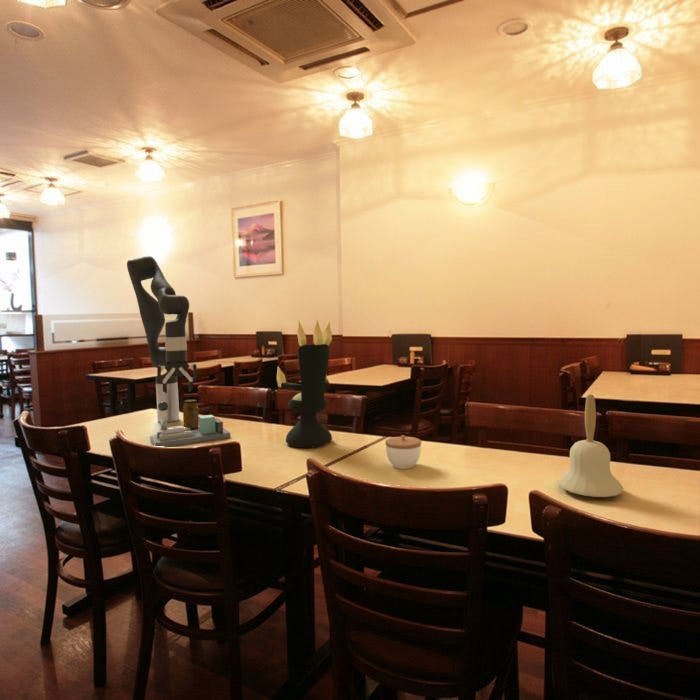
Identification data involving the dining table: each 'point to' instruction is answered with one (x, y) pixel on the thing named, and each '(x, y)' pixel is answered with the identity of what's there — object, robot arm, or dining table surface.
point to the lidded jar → (403, 451)
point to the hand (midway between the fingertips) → (178, 392)
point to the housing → (207, 424)
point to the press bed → (190, 436)
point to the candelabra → (309, 389)
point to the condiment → (191, 414)
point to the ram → (163, 419)
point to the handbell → (590, 463)
